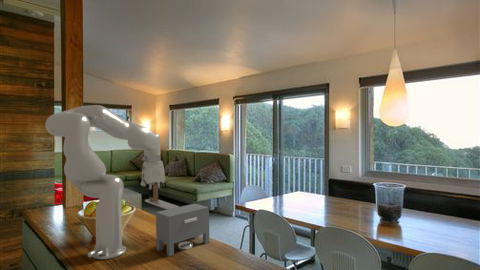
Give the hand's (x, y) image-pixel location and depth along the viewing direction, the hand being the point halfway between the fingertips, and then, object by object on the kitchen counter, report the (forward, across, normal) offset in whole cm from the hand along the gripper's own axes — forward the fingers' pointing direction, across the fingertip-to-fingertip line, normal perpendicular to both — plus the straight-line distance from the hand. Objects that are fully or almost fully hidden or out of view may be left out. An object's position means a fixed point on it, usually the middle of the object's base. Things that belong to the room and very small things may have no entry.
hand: (153, 196), depth 146 cm
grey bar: (+3, 0, -7) cm, 8 cm away
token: (+18, -1, -27) cm, 32 cm away
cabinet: (+17, -1, -26) cm, 31 cm away
